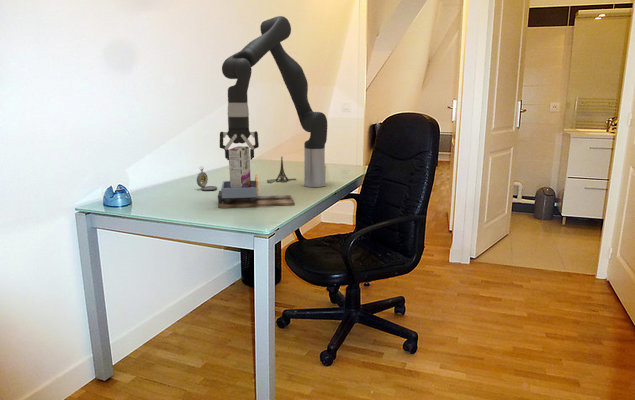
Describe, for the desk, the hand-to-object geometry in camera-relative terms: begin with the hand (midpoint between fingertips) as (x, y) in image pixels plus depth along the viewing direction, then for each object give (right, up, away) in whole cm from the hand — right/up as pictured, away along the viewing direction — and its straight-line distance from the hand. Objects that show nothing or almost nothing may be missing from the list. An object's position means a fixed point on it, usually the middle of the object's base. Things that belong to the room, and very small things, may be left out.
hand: (239, 159), depth 168 cm
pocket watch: (-19, -11, +29) cm, 36 cm away
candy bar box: (0, -12, +3) cm, 12 cm away
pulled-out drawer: (0, -15, +3) cm, 15 cm away
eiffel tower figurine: (+12, -6, +51) cm, 53 cm away
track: (+6, -16, +4) cm, 18 cm away
